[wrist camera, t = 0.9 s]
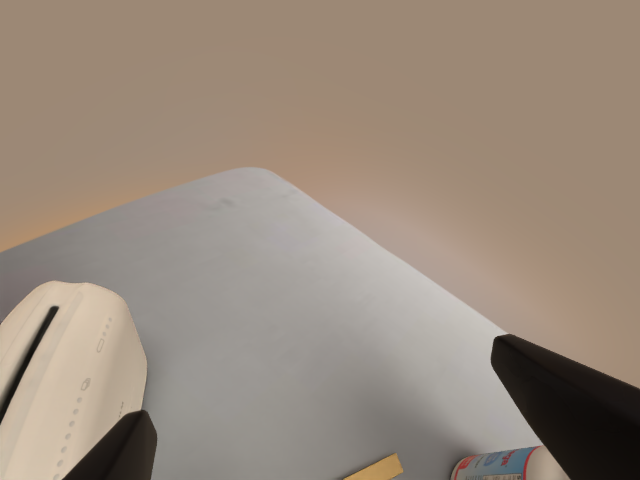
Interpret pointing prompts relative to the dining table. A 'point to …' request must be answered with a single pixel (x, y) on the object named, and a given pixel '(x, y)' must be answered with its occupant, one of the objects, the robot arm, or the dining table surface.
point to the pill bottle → (510, 466)
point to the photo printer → (65, 377)
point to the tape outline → (379, 470)
